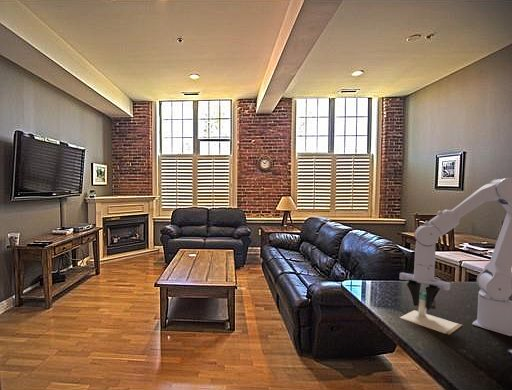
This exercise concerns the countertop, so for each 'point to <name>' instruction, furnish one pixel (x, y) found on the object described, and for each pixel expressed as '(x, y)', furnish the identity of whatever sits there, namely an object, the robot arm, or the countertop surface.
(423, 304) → the marker
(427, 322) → the notepad
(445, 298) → the countertop surface
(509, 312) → the robot arm
